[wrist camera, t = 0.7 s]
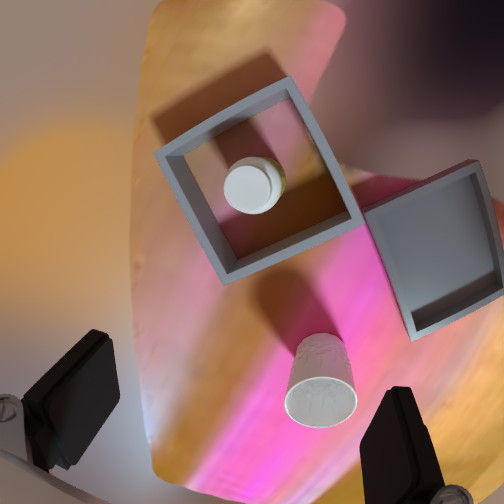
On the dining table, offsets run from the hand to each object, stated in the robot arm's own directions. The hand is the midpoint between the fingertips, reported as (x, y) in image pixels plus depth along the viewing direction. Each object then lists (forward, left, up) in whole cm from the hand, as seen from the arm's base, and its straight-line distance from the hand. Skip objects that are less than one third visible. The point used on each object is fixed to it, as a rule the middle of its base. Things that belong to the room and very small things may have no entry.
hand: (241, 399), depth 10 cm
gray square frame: (+1, -6, -28) cm, 29 cm away
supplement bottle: (+1, -6, -29) cm, 29 cm away
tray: (-15, +10, -28) cm, 34 cm away
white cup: (+4, +17, -29) cm, 34 cm away
